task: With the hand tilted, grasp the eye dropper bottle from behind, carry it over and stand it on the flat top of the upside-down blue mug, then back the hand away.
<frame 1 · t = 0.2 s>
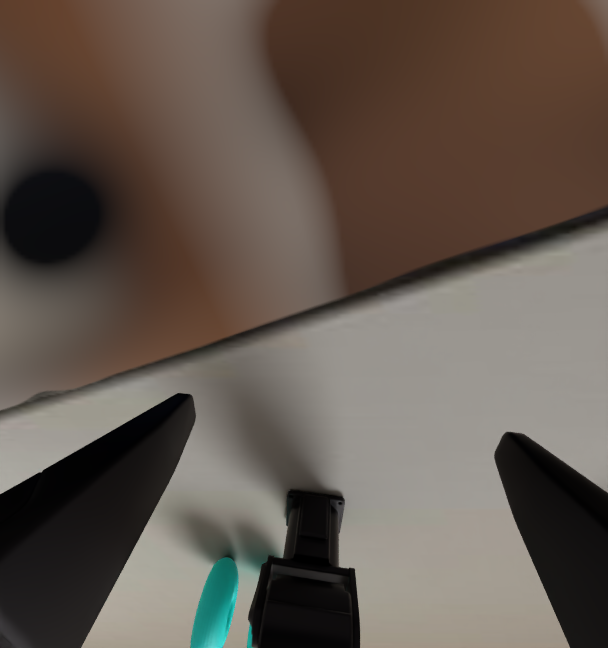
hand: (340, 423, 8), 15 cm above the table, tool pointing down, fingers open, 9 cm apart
donuts: (253, 564, 41), on the table
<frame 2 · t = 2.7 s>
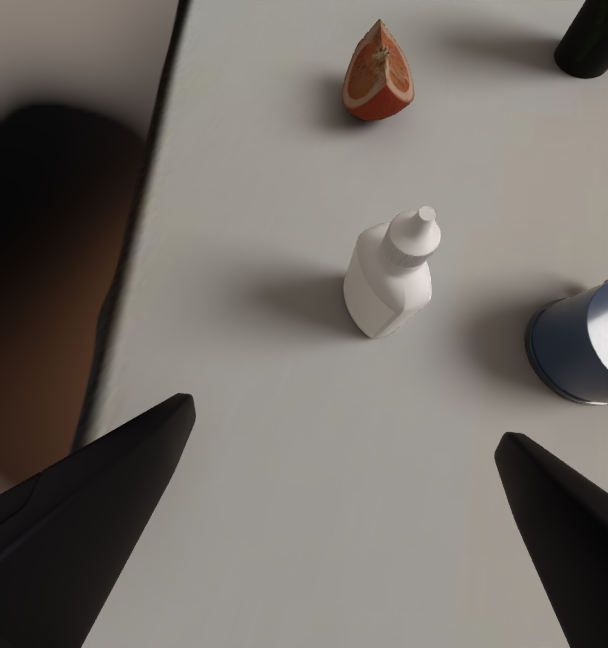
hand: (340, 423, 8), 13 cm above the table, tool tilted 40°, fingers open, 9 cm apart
fruit slice: (372, 109, 29), on the table
cup: (579, 61, 30), on the table
blue mug: (579, 349, 22), on the table
eye dropper bottle: (367, 307, 24), on the table
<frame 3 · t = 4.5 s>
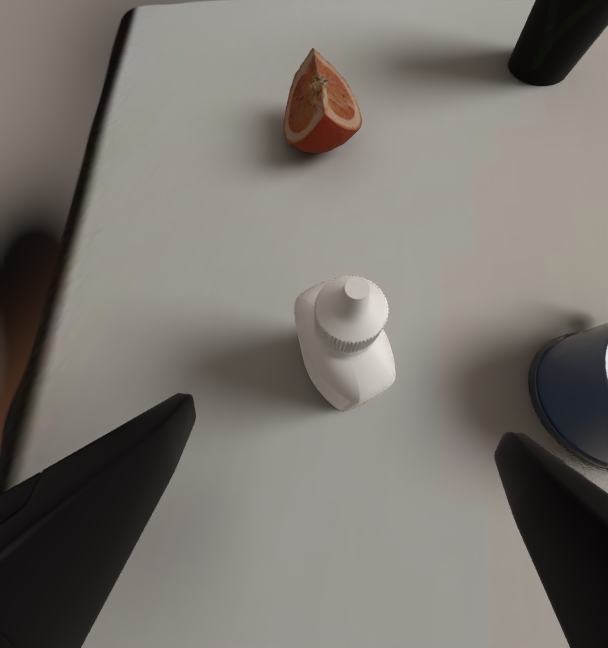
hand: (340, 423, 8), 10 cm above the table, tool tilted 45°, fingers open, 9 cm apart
fruit slice: (321, 140, 27), on the table
cup: (535, 69, 28), on the table
blue mug: (598, 397, 18), on the table
eye dropper bottle: (333, 368, 19), on the table
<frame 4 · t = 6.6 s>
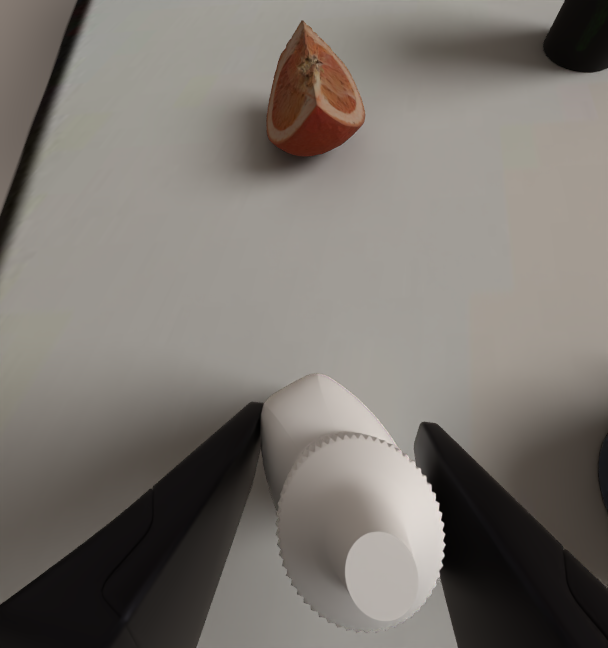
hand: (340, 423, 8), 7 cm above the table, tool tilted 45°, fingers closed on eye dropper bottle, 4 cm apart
fruit slice: (314, 140, 21), on the table
cup: (577, 52, 23), on the table
eye dropper bottle: (327, 452, 14), on the table, touching gripper
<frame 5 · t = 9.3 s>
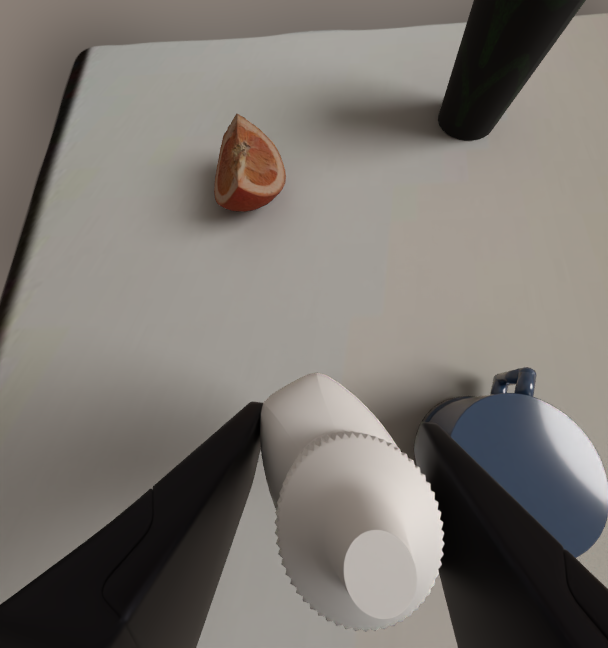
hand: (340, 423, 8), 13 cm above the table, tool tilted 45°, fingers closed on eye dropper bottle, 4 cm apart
fruit slice: (253, 194, 28), on the table
cup: (464, 122, 30), on the table
blue mug: (475, 458, 20), on the table
eye dropper bottle: (327, 452, 14), point 6 cm above the table, touching gripper
when the fingers open (12 cm above the table, at t = 12.0 s): eye dropper bottle stays where it is, resting on blue mug.
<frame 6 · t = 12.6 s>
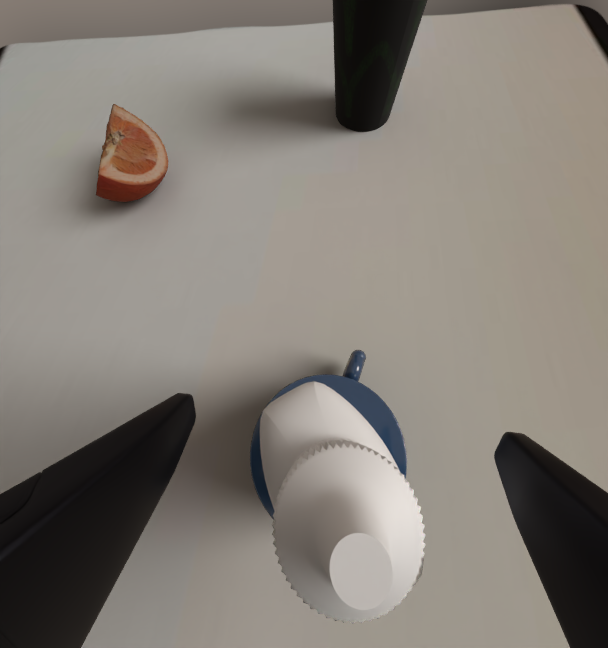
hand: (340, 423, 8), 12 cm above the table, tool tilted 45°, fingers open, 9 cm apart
fruit slice: (145, 185, 28), on the table
cup: (362, 114, 30), on the table
blue mug: (324, 445, 19), on the table, touching eye dropper bottle
eye dropper bottle: (326, 454, 15), point 5 cm above the table, touching blue mug
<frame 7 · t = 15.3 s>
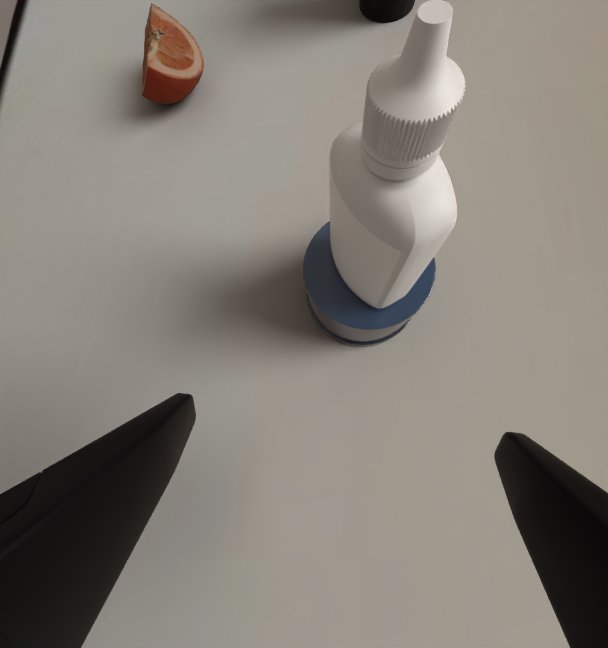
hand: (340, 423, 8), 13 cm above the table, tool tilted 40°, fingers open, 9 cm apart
fruit slice: (182, 92, 30), on the table
cup: (386, 5, 30), on the table
blue mug: (360, 294, 22), on the table, touching eye dropper bottle
eye dropper bottle: (366, 269, 18), point 5 cm above the table, touching blue mug
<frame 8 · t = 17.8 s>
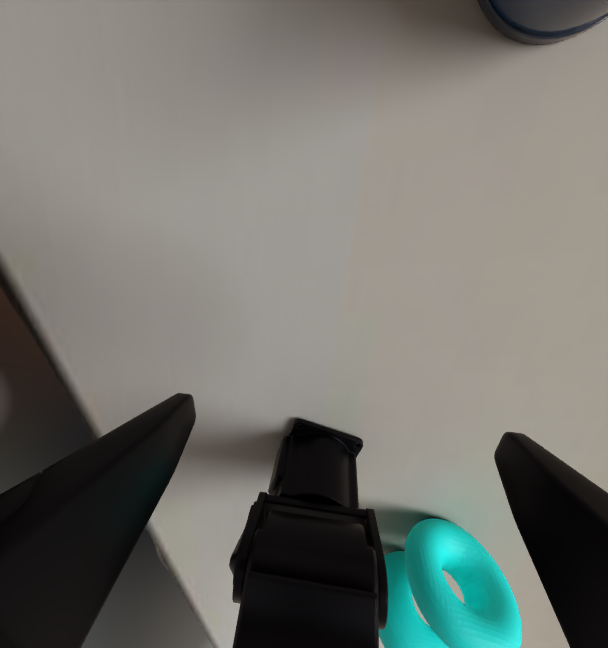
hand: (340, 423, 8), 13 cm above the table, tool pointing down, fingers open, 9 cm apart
donuts: (422, 536, 31), on the table
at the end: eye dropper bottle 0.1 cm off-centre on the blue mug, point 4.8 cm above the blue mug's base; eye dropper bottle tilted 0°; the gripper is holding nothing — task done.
